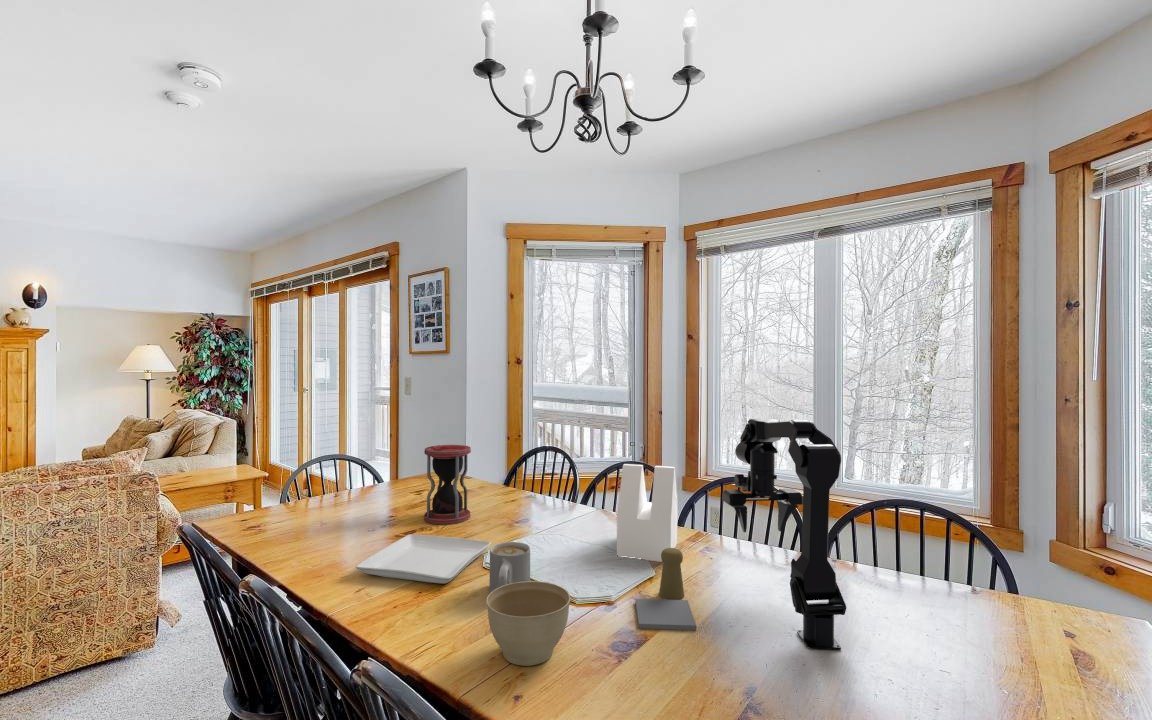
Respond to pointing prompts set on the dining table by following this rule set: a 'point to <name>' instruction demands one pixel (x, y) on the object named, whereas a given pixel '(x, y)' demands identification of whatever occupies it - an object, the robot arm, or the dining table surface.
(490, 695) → the dining table surface
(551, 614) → the planter bowl
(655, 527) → the white slotted block
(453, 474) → the hourglass
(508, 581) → the coffee mug
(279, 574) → the dining table surface
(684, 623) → the charcoal mat
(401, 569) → the square plate
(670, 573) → the cork
